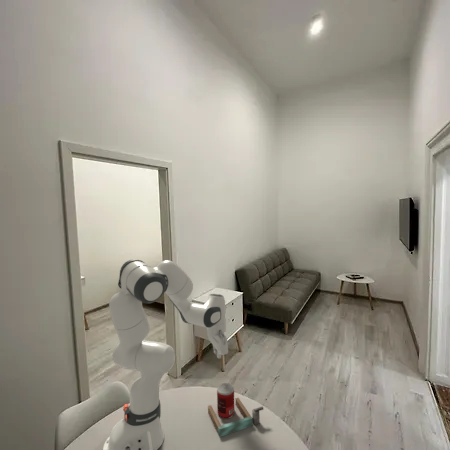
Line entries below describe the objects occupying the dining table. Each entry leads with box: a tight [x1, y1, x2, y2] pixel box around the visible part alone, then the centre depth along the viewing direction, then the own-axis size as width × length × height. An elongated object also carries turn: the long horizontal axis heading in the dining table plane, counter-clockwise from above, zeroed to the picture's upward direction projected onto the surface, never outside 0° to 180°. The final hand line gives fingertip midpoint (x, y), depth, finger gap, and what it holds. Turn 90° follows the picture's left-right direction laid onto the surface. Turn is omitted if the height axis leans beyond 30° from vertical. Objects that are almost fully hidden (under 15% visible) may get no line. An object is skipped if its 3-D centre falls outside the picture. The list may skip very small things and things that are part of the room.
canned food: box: [216, 382, 235, 419], centre depth 116 cm, size 8×8×11 cm
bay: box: [207, 397, 264, 438], centre depth 113 cm, size 20×15×6 cm
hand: (217, 355), depth 126 cm, fingers open, 3 cm apart
